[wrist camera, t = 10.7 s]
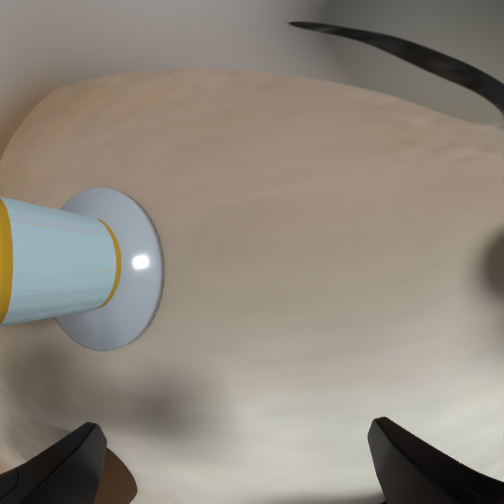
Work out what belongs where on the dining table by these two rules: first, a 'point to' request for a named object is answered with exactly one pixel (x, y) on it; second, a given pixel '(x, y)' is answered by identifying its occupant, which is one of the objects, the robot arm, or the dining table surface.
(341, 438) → the dining table surface
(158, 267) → the stand
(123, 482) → the olive oil
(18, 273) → the bottle
